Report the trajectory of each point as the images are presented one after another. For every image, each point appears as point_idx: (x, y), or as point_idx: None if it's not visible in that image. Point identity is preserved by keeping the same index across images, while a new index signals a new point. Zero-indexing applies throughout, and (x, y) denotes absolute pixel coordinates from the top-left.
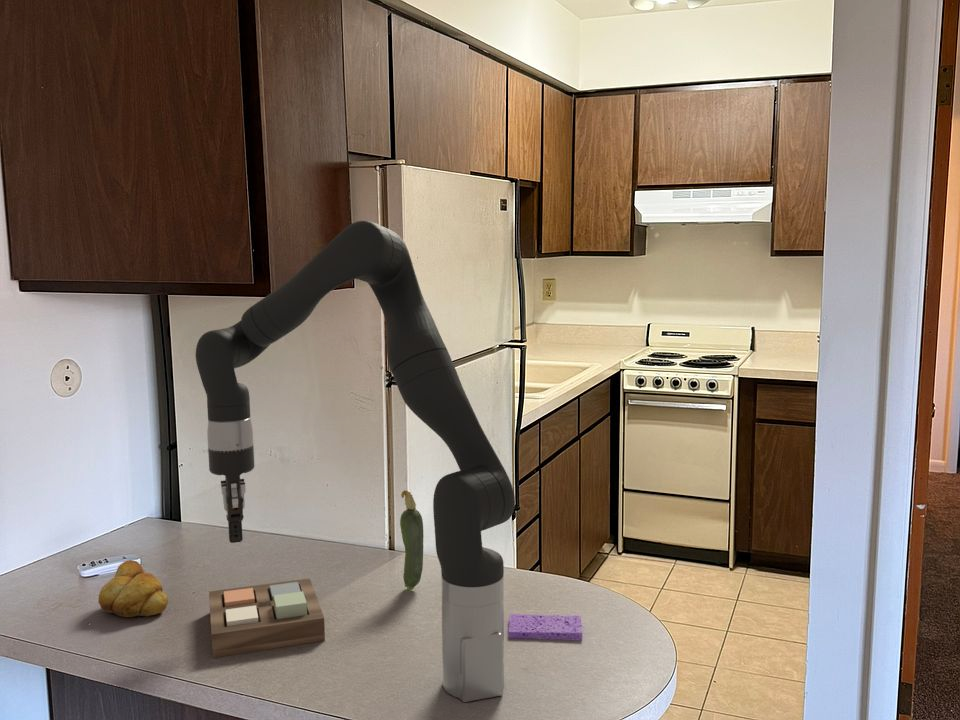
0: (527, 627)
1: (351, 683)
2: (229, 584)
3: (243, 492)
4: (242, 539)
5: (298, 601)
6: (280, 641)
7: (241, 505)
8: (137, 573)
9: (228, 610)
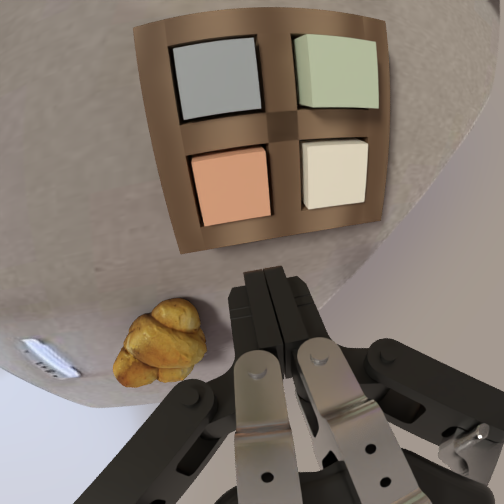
0: None
1: (464, 45)
2: (61, 220)
3: (421, 496)
4: (280, 267)
5: (365, 56)
6: None
7: (501, 395)
8: (147, 366)
9: (314, 203)
